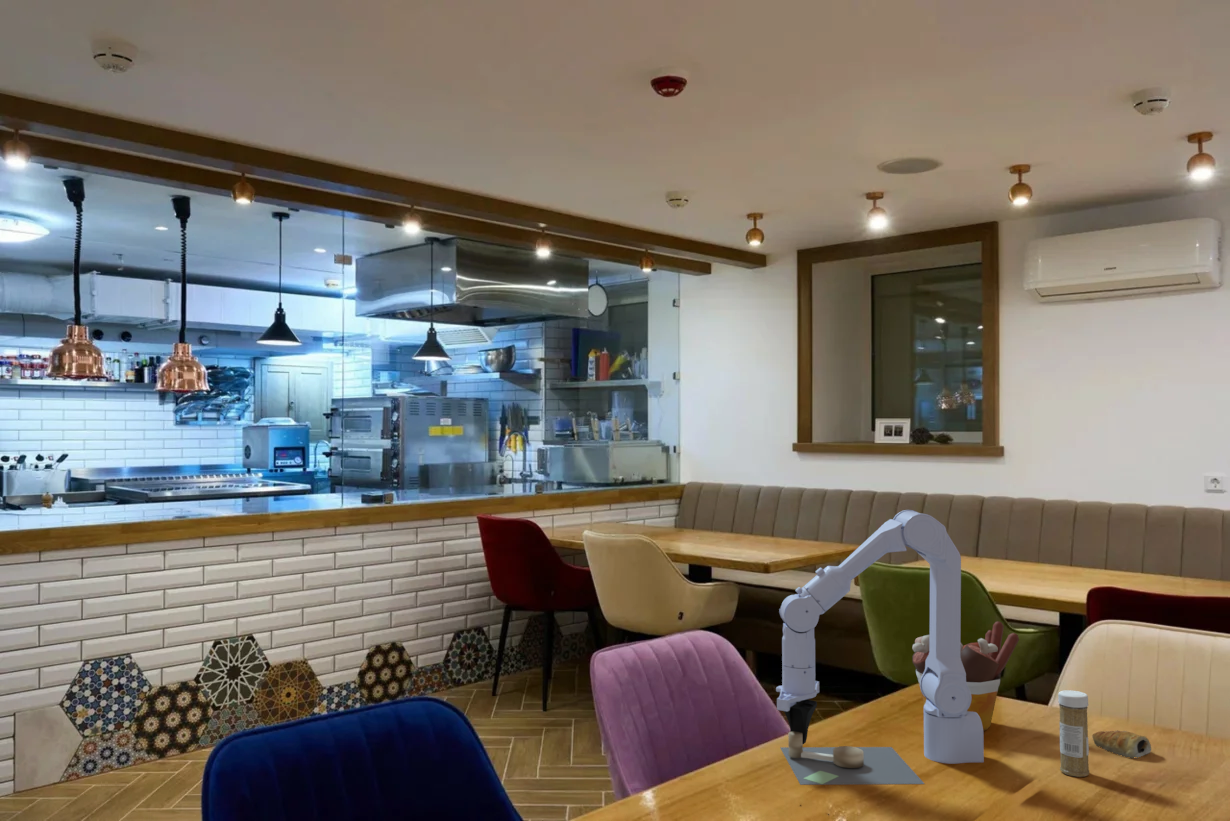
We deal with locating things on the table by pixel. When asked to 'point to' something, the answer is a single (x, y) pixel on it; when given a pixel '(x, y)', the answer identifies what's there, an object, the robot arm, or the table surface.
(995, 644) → the bucket of meat
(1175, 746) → the table surface
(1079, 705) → the spice jar
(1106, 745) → the pastry
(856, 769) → the dial board
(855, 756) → the crank handle
